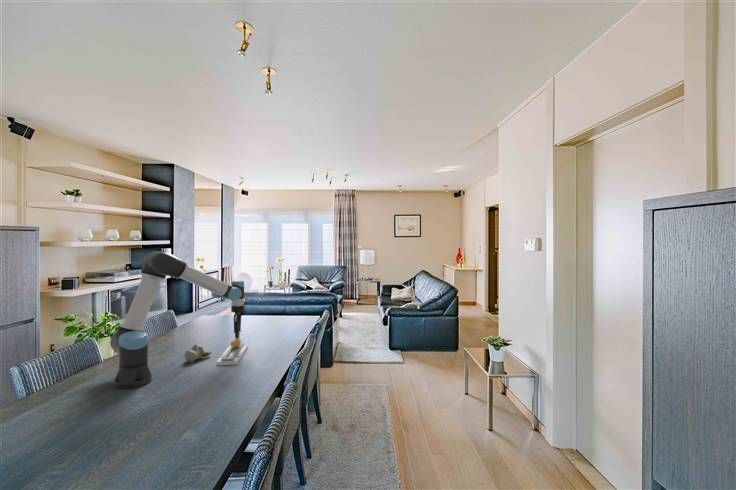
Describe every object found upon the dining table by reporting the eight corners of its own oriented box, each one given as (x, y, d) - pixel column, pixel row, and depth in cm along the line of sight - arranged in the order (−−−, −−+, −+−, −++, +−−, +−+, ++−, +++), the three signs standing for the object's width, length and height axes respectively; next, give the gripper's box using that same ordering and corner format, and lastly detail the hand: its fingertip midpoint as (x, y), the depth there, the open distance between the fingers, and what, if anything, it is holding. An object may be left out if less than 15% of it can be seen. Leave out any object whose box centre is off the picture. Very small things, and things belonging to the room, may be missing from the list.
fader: (239, 349, 214) (239, 341, 214) (230, 349, 214) (231, 341, 213) (240, 348, 217) (240, 340, 217) (232, 348, 216) (232, 340, 216)
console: (237, 364, 194) (237, 358, 194) (216, 365, 193) (216, 359, 193) (247, 348, 224) (247, 343, 224) (229, 348, 222) (229, 343, 222)
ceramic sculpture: (179, 346, 197) (197, 341, 211) (178, 362, 196) (196, 355, 211) (195, 348, 194) (213, 342, 209) (194, 364, 194) (212, 357, 208)
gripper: (241, 306, 214) (241, 345, 214) (245, 303, 227) (245, 339, 227) (228, 307, 213) (228, 345, 213) (233, 303, 226) (233, 340, 226)
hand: (237, 342), depth 220 cm, fingers closed
